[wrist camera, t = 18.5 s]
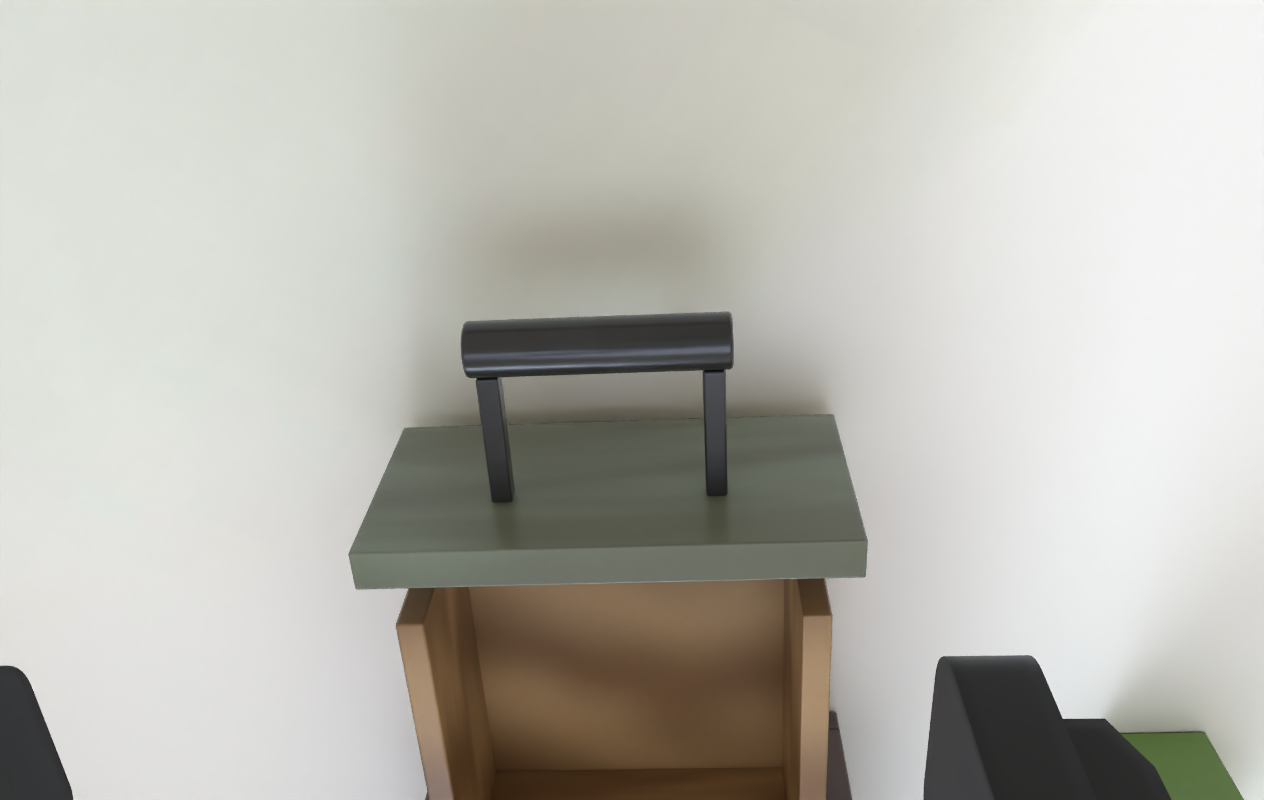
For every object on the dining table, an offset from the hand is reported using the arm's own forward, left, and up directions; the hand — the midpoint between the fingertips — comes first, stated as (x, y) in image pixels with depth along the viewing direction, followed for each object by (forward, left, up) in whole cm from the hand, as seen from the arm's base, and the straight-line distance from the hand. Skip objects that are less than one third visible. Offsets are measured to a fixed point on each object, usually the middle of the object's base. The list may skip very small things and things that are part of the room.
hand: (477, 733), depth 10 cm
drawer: (0, -14, -23) cm, 27 cm away
